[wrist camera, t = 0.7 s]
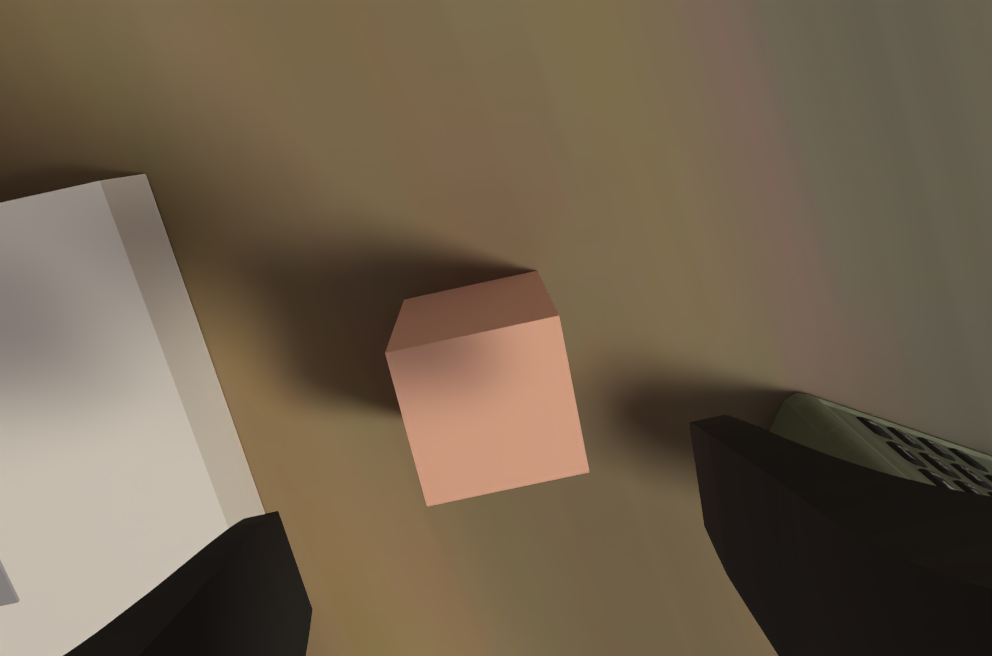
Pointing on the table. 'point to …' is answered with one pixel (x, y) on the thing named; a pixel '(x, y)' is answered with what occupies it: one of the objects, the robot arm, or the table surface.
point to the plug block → (485, 389)
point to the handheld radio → (882, 445)
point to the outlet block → (102, 416)
